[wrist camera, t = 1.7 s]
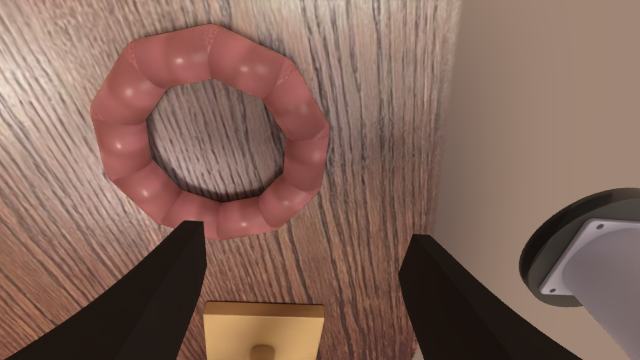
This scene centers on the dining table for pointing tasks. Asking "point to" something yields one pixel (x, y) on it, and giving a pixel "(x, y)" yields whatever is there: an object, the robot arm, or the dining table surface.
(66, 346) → the robot arm
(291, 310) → the stand
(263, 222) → the ring
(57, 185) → the dining table surface
